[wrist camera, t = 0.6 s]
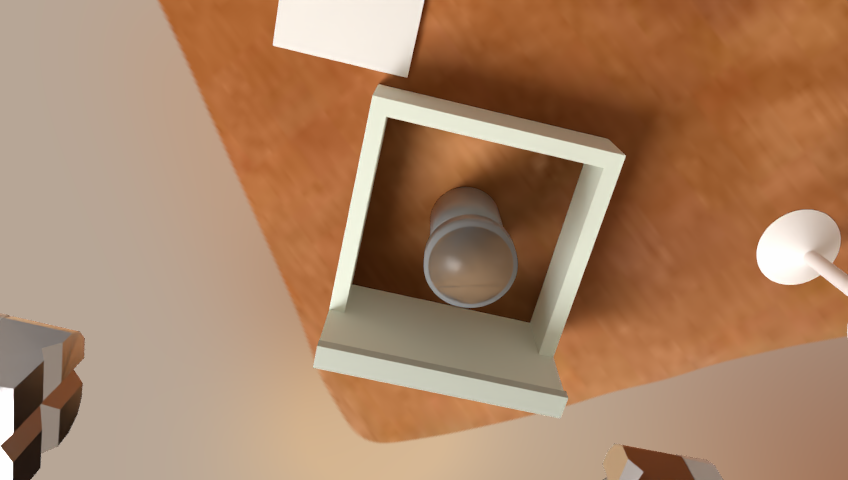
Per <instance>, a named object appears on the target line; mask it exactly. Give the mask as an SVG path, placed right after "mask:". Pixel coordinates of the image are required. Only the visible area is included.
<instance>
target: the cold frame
mask: <svg viewBox="0 0 848 480" xmlns="http://www.w3.org/2000/svg"><path fill="white" fill-rule="evenodd" d="M388 117H389V118H394V119H398V120H402V121H406V122H411V123H415V124H419V125H423V126H428V127H432V128H436V129H440V130H444V131H449V132H453V133H457V134H461V135H466V136H470V137H474V138H478V139H483V140H487V141H491V142H495V143H500V144H504V145H508V146H512V147H517V148H521V149H525V150H529V151H534V152H538V153H542V154H546V155H550V156H555V157H559V158H563V159H567V160H572V161H576V162H580V163H584V165H583V168H582V170H581V173H580V176H579V179H578V182H577V185H576V188H575V191H574V194H573V197H572V200H571V203H570V206H569V209H568V212H567V215H566V218H565V221H564V224H563V227H562V230H561V233H560V236H559V239H558V242H557V244H556V247H555V250H554V253H553V256H552V259H551V262H550V265H549V268H548V271H547V274H546V277H545V280H544V283H543V286H542V289H541V292H540V295H539V298H538V301H537V304H536V307H535V310H534V313H533V316H532V318H531V321H530V323H529V322H524V321H520V320H515V319H510V318H506V317H501V316H497V315H492V314H487V313H483V312H478V311H473V310H469V309H464V308H460V307H455V306H450V305H446V304H441V303H436V302H432V301H427V300H423V299H418V298H413V297H409V296H404V295H399V294H395V293H390V292H385V291H381V290H376V289H372V288H367V287H362V286H358V285H353V284H352V282H353V278H354V273H355V268H356V264H357V259H358V254H359V250H360V245H361V240H362V236H363V231H364V226H365V222H366V217H367V212H368V208H369V203H370V198H371V194H372V189H373V184H374V180H375V175H376V170H377V166H378V161H379V156H380V152H381V147H382V142H383V138H384V133H385V128H386V124H387V119H388ZM625 157H626V155H625V154H624V153H623V152H622V151H620V150H619V149H618V148H617V147H616V146H615V145H614V144H613V143H612V142H611V141H610V140H609V139H607V138H602V137H598V136H594V135H590V134H586V133H582V132H577V131H573V130H569V129H565V128H561V127H556V126H552V125H548V124H544V123H540V122H536V121H531V120H527V119H523V118H519V117H515V116H511V115H506V114H502V113H498V112H494V111H490V110H485V109H481V108H477V107H473V106H469V105H465V104H460V103H456V102H452V101H448V100H444V99H439V98H435V97H431V96H427V95H423V94H419V93H414V92H410V91H406V90H402V89H398V88H394V87H389V86H385V85H381V84H378V86H377V88H376V90H375V92H374V94H373V96H372V101H371V106H370V111H369V116H368V121H367V126H366V131H365V135H364V140H363V145H362V150H361V155H360V160H359V165H358V170H357V175H356V180H355V185H354V190H353V195H352V200H351V205H350V209H349V214H348V219H347V224H346V229H345V234H344V239H343V244H342V249H341V254H340V259H339V264H338V269H337V274H336V279H335V283H334V288H333V293H332V298H331V303H330V308H329V312H328V315H327V318H326V321H325V325H324V328H323V331H322V334H321V337H320V340H319V342H318V345H317V350H316V355H315V360H314V365H313V368H317V369H322V370H327V371H332V372H337V373H342V374H347V375H351V376H356V377H361V378H366V379H371V380H376V381H381V382H385V383H390V384H395V385H400V386H405V387H410V388H415V389H419V390H424V391H429V392H434V393H439V394H444V395H449V396H453V397H458V398H463V399H468V400H473V401H478V402H483V403H487V404H492V405H497V406H502V407H507V408H512V409H517V410H521V411H526V412H531V413H536V414H541V415H546V416H551V417H555V418H561V416H562V413H563V411H564V408H565V405H566V403H567V400H568V396H567V393H566V391H563V387H562V384H561V381H560V378H559V374H558V371H557V368H556V365H555V361H554V358H553V356H554V354H555V351H556V348H557V345H558V342H559V340H560V337H561V334H562V331H563V329H564V326H565V323H566V320H567V318H568V315H569V312H570V309H571V306H572V304H573V301H574V298H575V295H576V293H577V290H578V287H579V284H580V282H581V279H582V276H583V273H584V271H585V268H586V265H587V262H588V259H589V257H590V254H591V251H592V248H593V246H594V243H595V240H596V237H597V235H598V232H599V229H600V226H601V223H602V221H603V218H604V215H605V212H606V210H607V207H608V204H609V201H610V199H611V196H612V193H613V190H614V188H615V185H616V182H617V179H618V176H619V174H620V171H621V168H622V165H623V163H624V160H625Z"/></svg>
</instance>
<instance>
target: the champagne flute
mask: <svg viewBox="0 0 848 480" xmlns="http://www.w3.org/2000/svg"><path fill="white" fill-rule="evenodd" d="M840 244H841V236H840V231H839V228H838V226H837V224H836V223H835V221H834V220H833V219H832V218H831V217H829V216H828V215H827V214H825V213H822V212H820V211H816V210H798V211H794V212H791V213H788V214H786V215H784V216H782V217H780V218H778V219H777V220H776V221H774V222H773V223H772V224H771V225H770V226H769V227H768V228H767V229H766V230H765V232H764V233H763V235H762V237H761V239H760V241H759V243H758V247H757V262H758V266H759V268H760V269H761V271H762V273H763V274H764V275H765V276H766V277H767V278H769V279H770V280H772V281H774V282H777V283H780V284H785V285H795V284H801V283H805V282H808V281H810V280H812V279H814V278H816V277H818V276H819V275H821V276H823V277H824V278H825V279H826V280H828V281H829V282H830V283H832V284H833V285H834V286H835V287H837V288H838V289H839V290H841V291H842V292H843V293H844V294H846V295H847V296H848V274H846V273H845V272H843V271H842V270H841V269H839V268H838V267H837V266H835V265H834V264H832V263H833V261H834V260H835V258H836V256H837V254H838V252H839V248H840ZM847 336H848V325H847Z"/></svg>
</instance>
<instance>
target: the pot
mask: <svg viewBox="0 0 848 480" xmlns="http://www.w3.org/2000/svg"><path fill="white" fill-rule="evenodd" d="M517 269H518V259H517V254H516V251H515V247H514V244H513V241H512V239H511V237H510V235H509V234H508V232H507V231H506V230H505V229H504V228H503V225H502V221H501V218H500V214H499V210H498V208H497V205H496V203H495V202H494V200H493V199H492V198H491V197H490V196H489V195H488V194H486V193H485V192H483V191H481V190H479V189H476V188H472V187H459V188H455V189H452V190H450V191H448V192H446V193H445V194H443V195H442V196H441V197H440V198H439V199H438V200H437V201H436V203H435V205H434V207H433V209H432V212H431V217H430V237H429V239H428V241H427V244H426V247H425V251H424V274H425V278H426V280H427V283H428V285H429V286H430V288H431V289H432V291H433V292H434V293H435V294H436V295H437V296H438V297H439V298H441V299H442V300H444V301H445V302H447V303H449V304H452V305H454V306H458V307H464V308H476V307H482V306H485V305H488V304H491V303H493V302H495V301H496V300H498V299H499V298H501V297H502V296H503V295H504V294H505V293H506V292H507V291H508V290H509V289H510V287H511V286H512V284H513V282H514V280H515V277H516V274H517Z"/></svg>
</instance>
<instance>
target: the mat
mask: <svg viewBox="0 0 848 480" xmlns="http://www.w3.org/2000/svg"><path fill="white" fill-rule="evenodd" d="M423 5H424V0H279V5H278V12H277V19H276V26H275V33H274V40H273V46H277V47H281V48H285V49H289V50H294V51H298V52H302V53H306V54H310V55H314V56H318V57H323V58H327V59H331V60H335V61H339V62H343V63H348V64H352V65H356V66H360V67H364V68H368V69H372V70H377V71H381V72H385V73H389V74H393V75H397V76H402V77H406V78H407V77H408V73H409V68H410V64H411V59H412V55H413V50H414V45H415V41H416V36H417V32H418V27H419V23H420V18H421V14H422V9H423Z"/></svg>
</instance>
